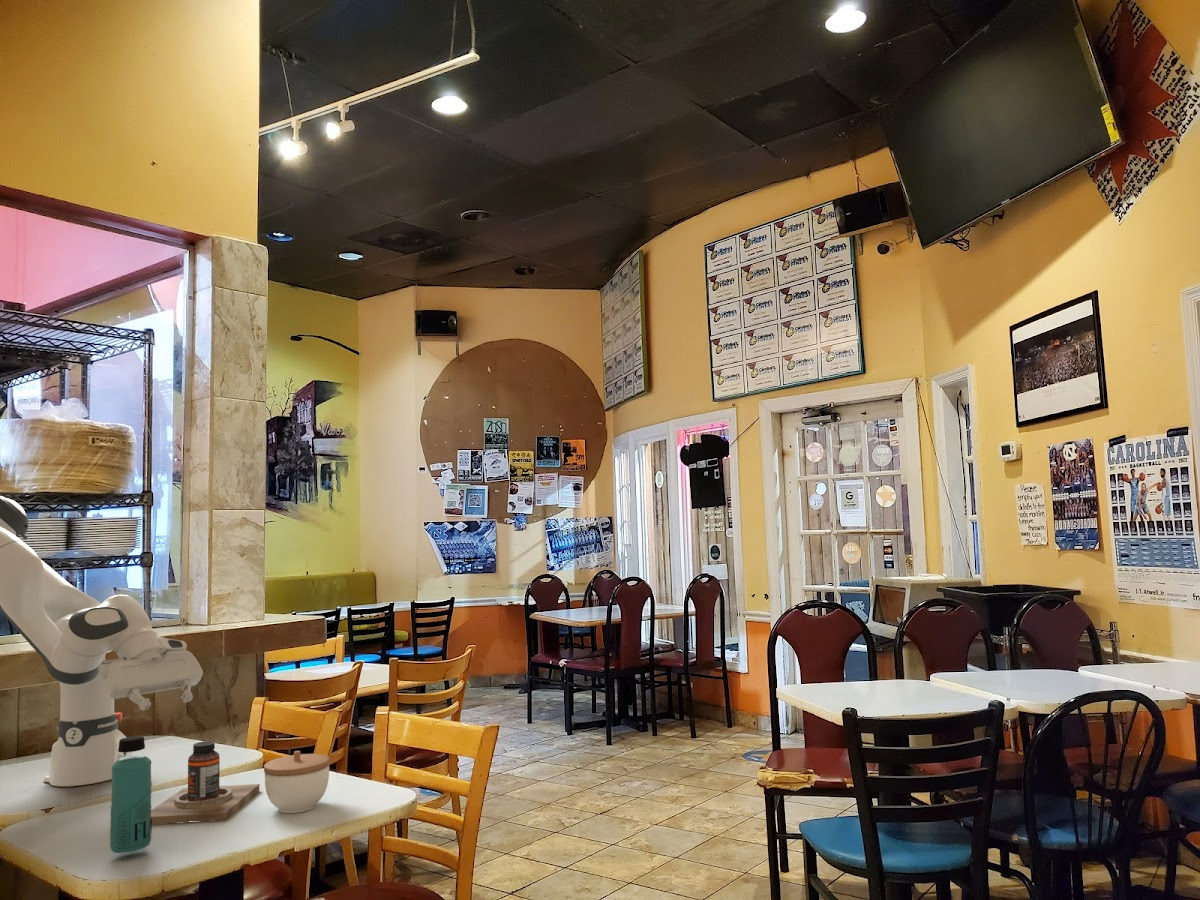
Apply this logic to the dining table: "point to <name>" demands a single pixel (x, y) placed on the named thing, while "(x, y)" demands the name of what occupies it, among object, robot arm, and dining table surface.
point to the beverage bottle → (131, 798)
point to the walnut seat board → (203, 805)
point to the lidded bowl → (296, 781)
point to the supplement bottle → (203, 772)
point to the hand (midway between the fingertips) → (168, 703)
